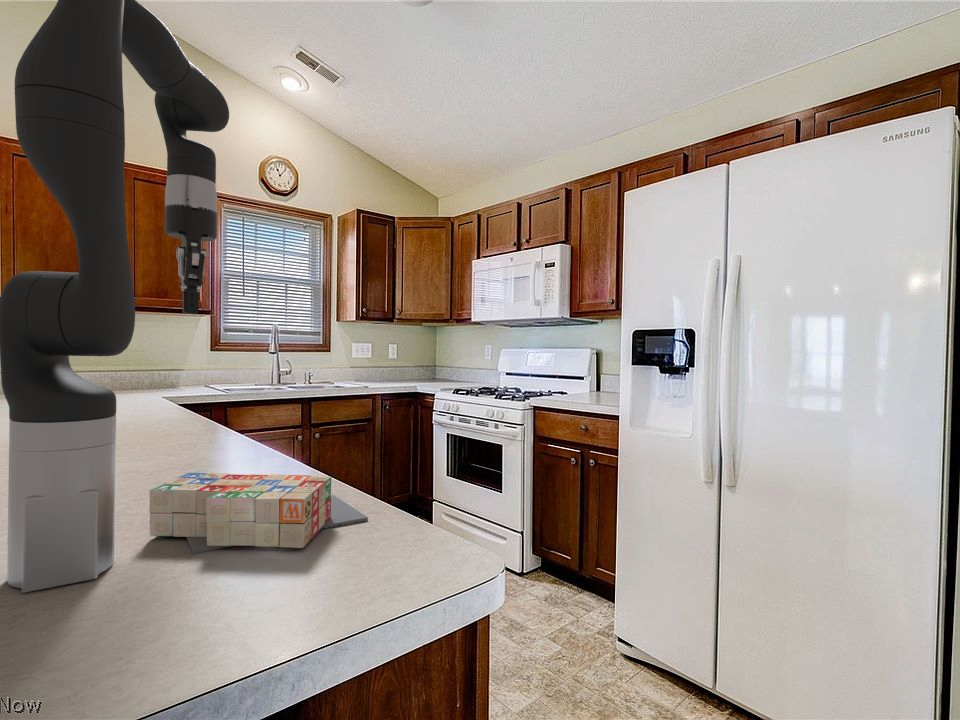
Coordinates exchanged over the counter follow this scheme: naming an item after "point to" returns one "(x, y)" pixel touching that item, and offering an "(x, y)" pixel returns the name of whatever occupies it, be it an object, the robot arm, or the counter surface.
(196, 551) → the mat
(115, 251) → the robot arm
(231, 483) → the stack of blocks
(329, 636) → the counter surface
